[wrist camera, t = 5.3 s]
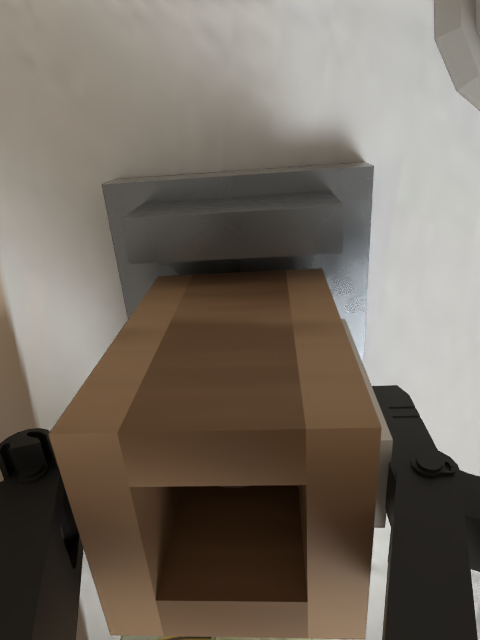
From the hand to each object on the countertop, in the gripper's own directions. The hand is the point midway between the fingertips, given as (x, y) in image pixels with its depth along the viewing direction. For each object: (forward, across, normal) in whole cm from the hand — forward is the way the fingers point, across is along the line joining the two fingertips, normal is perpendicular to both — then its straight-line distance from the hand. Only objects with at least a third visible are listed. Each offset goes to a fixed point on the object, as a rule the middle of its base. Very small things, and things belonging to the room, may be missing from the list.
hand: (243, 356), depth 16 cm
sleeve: (+1, 0, 0) cm, 1 cm away
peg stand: (+4, 0, 0) cm, 4 cm away
